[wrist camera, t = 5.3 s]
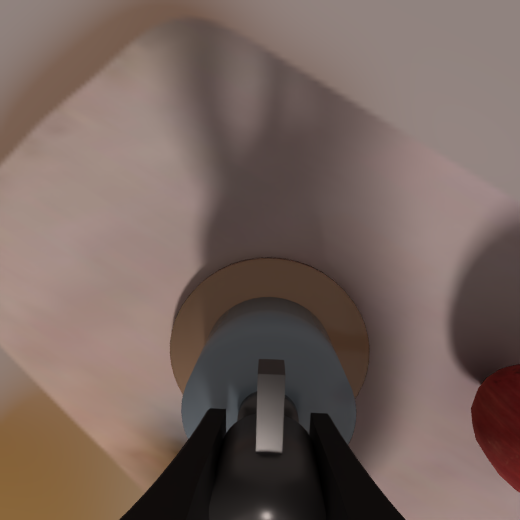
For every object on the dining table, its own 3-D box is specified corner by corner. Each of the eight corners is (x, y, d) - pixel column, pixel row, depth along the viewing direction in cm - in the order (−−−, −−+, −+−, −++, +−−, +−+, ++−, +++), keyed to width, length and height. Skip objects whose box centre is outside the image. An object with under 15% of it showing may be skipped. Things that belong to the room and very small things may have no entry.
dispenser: (265, 464, 18) (262, 577, 12) (134, 346, 16) (69, 416, 11) (405, 356, 16) (474, 435, 11) (272, 214, 15) (274, 221, 9)
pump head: (266, 479, 11) (264, 579, 8) (177, 399, 11) (141, 476, 8) (361, 408, 10) (397, 490, 7) (271, 317, 10) (272, 367, 7)
